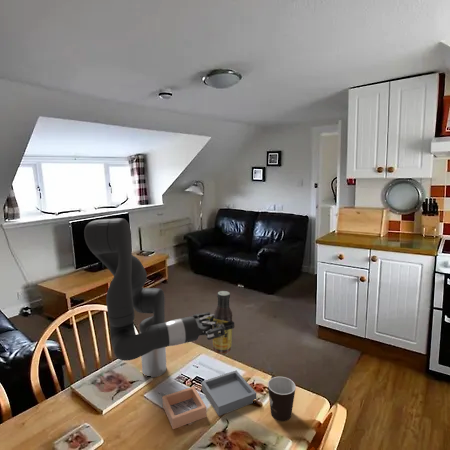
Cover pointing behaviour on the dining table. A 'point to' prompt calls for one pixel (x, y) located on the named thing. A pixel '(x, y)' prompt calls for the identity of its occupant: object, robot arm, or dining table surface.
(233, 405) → the tray
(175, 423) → the holder box
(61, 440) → the dining table surface
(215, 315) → the sauce bottle
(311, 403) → the dining table surface
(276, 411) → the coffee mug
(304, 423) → the dining table surface
